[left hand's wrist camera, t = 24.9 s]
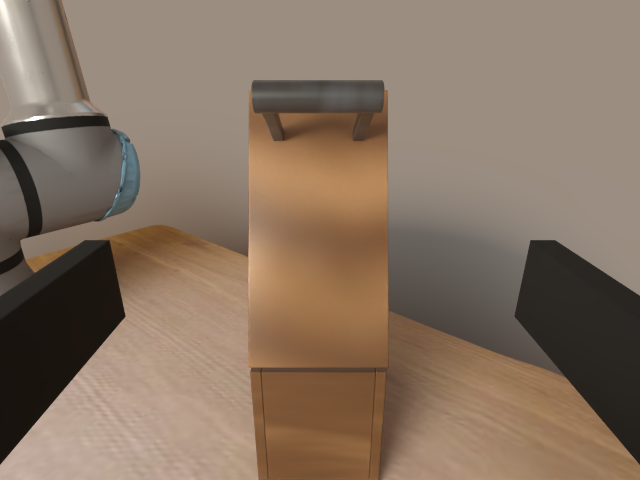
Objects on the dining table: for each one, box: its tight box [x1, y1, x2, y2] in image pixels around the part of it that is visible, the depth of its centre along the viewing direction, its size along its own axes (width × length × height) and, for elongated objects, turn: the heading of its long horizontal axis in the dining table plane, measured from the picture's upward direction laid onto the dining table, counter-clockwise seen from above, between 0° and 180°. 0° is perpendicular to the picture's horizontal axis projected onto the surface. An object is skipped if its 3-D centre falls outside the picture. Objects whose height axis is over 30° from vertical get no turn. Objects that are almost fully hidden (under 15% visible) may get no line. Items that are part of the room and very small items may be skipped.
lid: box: [248, 80, 389, 368], centre depth 22 cm, size 18×9×8 cm
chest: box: [250, 367, 387, 480], centre depth 35 cm, size 17×9×10 cm, turn 0°
